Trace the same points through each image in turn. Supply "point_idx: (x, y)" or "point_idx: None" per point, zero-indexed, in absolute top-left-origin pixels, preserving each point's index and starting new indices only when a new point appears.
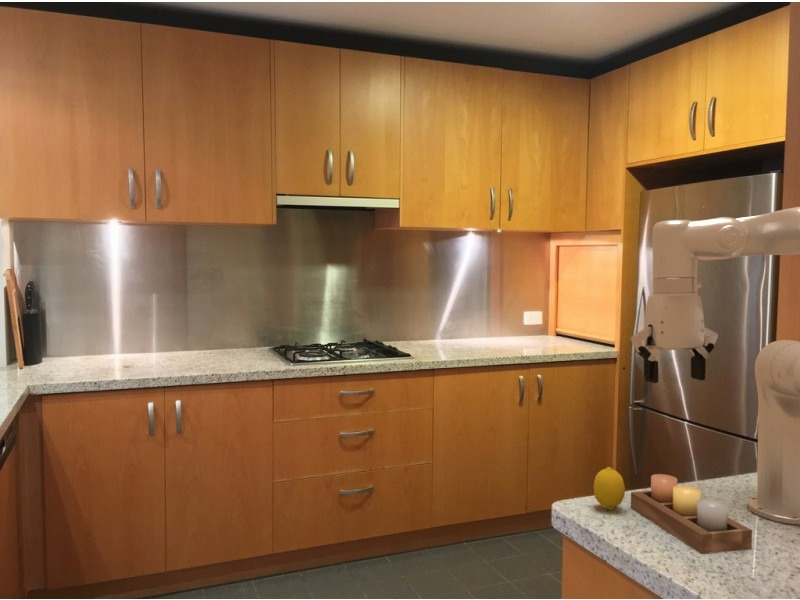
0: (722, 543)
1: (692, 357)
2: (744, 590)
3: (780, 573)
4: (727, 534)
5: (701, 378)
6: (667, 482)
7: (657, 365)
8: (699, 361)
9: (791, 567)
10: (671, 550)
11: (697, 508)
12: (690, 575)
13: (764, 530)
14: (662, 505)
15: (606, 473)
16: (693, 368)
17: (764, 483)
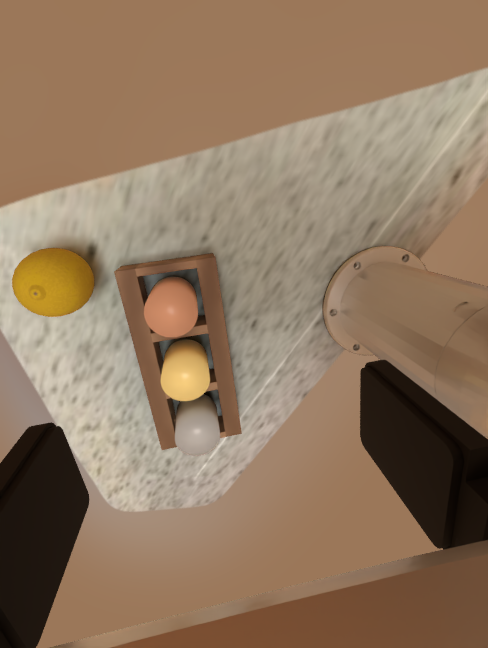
0: None
1: (465, 459)
2: (167, 504)
3: (230, 470)
4: None
5: (365, 446)
6: (167, 336)
7: (38, 624)
8: (430, 520)
9: (252, 458)
10: (127, 424)
11: (176, 423)
12: (122, 481)
13: (294, 363)
14: (151, 344)
15: (29, 305)
16: (395, 420)
17: (360, 325)
